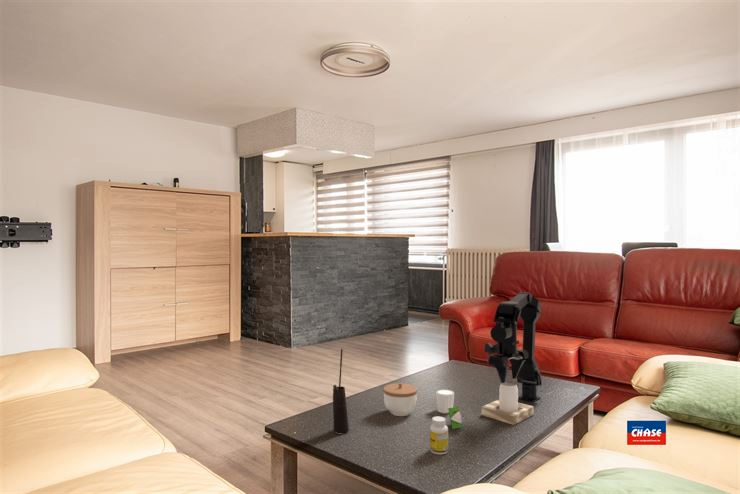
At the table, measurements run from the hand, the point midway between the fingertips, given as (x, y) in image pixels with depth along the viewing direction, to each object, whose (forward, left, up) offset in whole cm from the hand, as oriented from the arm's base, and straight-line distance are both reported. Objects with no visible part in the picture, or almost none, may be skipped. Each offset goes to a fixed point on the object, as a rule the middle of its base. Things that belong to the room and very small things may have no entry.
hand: (508, 380), depth 167 cm
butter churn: (+53, -33, -13) cm, 63 cm away
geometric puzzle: (+22, -8, -13) cm, 27 cm away
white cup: (+12, -20, -13) cm, 26 cm away
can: (0, 0, -13) cm, 13 cm away
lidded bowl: (+26, -30, -13) cm, 41 cm away
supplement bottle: (+41, 0, -13) cm, 43 cm away
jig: (-1, -1, -13) cm, 13 cm away
